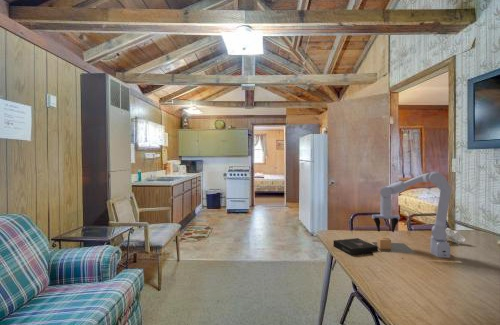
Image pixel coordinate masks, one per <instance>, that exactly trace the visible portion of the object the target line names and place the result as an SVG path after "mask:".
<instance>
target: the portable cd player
mask: <svg viewBox="0 0 500 325" xmlns="http://www.w3.org/2000/svg"><path fill="white" fill-rule="evenodd" d="M333 247H334V248H335V249H338V250H339V251H340V252H343V253H346V254H347V255H348V256H351V257H353V256H354V257H355V256H361V255H362V254H363V255H369V254H370V255H371V253H372V254H373V252H379V249H378V247H377V246H375V245H374V244H373V243H370V242H367V241H365V240H363V239H360V238H359V237H358V238H356V237H355V238H347V239H345V238H344V239H337V240H336V239H335V240H333Z"/></svg>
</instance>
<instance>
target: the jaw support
mask: <svg viewBox="0 0 500 325" xmlns="http://www.w3.org/2000/svg"><path fill="white" fill-rule="evenodd" d="M445 230H446V234H447V235H446V238H447V240H448V239H449V240H451V241H452V243H456V244H457V245H461V244H463V243H464V242H466V241H467V240H466V238H465V237H464V236H463V235H462V234H460V232H459V230H458V229H457V230H452V229H451V228H449V227H446V228H445Z"/></svg>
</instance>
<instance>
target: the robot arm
mask: <svg viewBox="0 0 500 325" xmlns="http://www.w3.org/2000/svg"><path fill="white" fill-rule="evenodd" d="M420 183H431V185H434V186H435V187H437V189H439V196H438V201H437V202H438V203H437V209H436V215H435V220H434V224H433V225H432V226H431V236H430V250H429V251H430V254H431V255H433V256H435V257H437V258H443V259H446V258H448V259H451V246H450V243H448V239H447V238H446V235H447V234H446V228H447V227H446V225H447V217H448V211H449V205H450V200H451V193H452V187H451V185H450V184H449V182H448V180H447V178H446V176H444V175H443V174H442V173H441V172H439V171H431V172H426V173H424V174H419V175H417V176H415V177H413V178H410V179H407V180H405V181H402V180H396V181H395V182H393V183H390V184H389V183H388V184H386V186H383V187H381V188H380V191H379V194H380V203H379V204H380V205H379V209H380V210H379V212H380V214H372V215H371V219H373V221H374V223H375V226H376V230H377V232H379V233H380V232H381V227H380V226H381V220H380V219H382V220H383V219H384V220H386V219H387V220H390V223H391V226H390V227H391V228H390V229H391V230H390V231H391V232H393V233H395V230H396V227H397V225H398V223H399V220H401V216H400V215H397V214H392V195H396V194H399V193H401V192H404V191H406V190H407V188H408V187H410V186H411V187H412V186H414V185H417V184H420Z"/></svg>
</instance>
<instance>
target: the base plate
mask: <svg viewBox="0 0 500 325" xmlns="http://www.w3.org/2000/svg"><path fill="white" fill-rule="evenodd" d="M371 244H373V245H375V246H377V241H372V242H371ZM377 247H378V246H377ZM378 251H379V252H381V253H397V254H398V253H399V254H417V252H416V251H414V250H413V249H412V248H410V247H409V246H408V245H406V244H405V243H404V242H402V243H401V242H391V249H380V248H379V247H378Z"/></svg>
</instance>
